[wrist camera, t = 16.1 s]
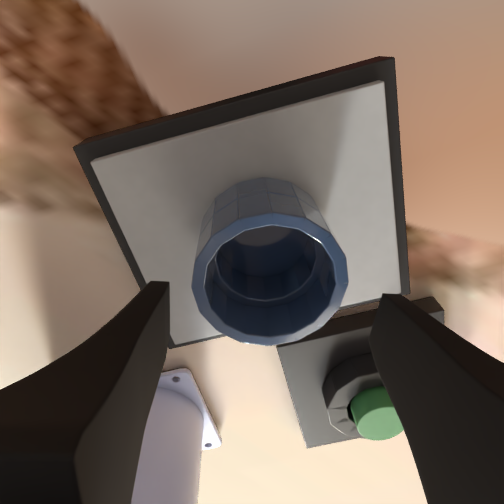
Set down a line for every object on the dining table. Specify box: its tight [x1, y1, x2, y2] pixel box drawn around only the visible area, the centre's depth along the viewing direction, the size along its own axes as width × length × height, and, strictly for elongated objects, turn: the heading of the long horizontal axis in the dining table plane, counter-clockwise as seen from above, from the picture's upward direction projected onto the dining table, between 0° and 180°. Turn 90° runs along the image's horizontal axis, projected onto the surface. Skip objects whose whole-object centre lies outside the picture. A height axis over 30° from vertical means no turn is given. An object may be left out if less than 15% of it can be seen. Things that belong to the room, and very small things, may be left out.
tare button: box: [350, 386, 404, 440], centre depth 23 cm, size 3×3×2 cm
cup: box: [191, 177, 349, 346], centre depth 16 cm, size 6×6×4 cm
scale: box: [73, 56, 410, 349], centre depth 19 cm, size 14×12×2 cm
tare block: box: [276, 297, 444, 448], centre depth 25 cm, size 10×10×3 cm
